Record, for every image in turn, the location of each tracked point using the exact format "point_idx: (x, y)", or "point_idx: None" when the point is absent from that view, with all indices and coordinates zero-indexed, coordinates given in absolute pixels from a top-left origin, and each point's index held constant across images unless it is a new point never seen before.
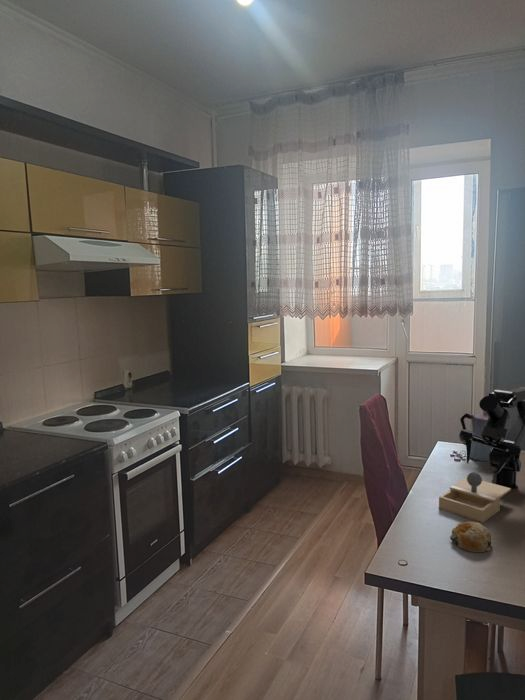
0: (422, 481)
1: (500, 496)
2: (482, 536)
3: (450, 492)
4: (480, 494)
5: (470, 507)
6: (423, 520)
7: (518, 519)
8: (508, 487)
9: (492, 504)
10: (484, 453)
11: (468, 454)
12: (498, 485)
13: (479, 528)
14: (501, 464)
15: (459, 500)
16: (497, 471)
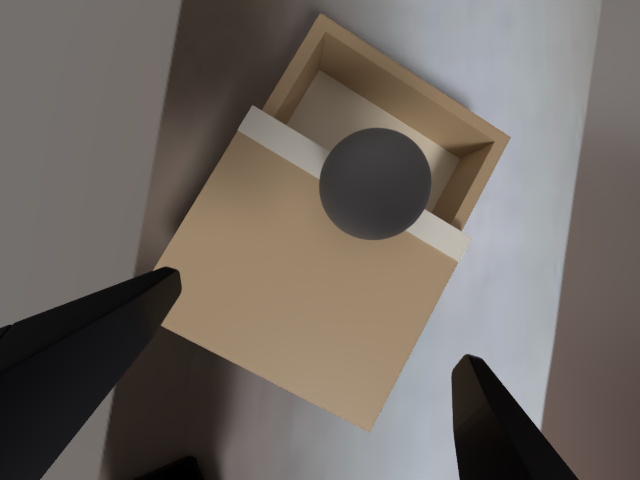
0: None
1: (211, 178)
2: None
3: (456, 210)
4: (319, 167)
5: (373, 51)
6: (520, 45)
7: (164, 124)
8: (150, 474)
9: (265, 106)
10: None
11: (540, 462)
12: (200, 338)
13: None
14: (60, 319)
15: None
16: (165, 271)
